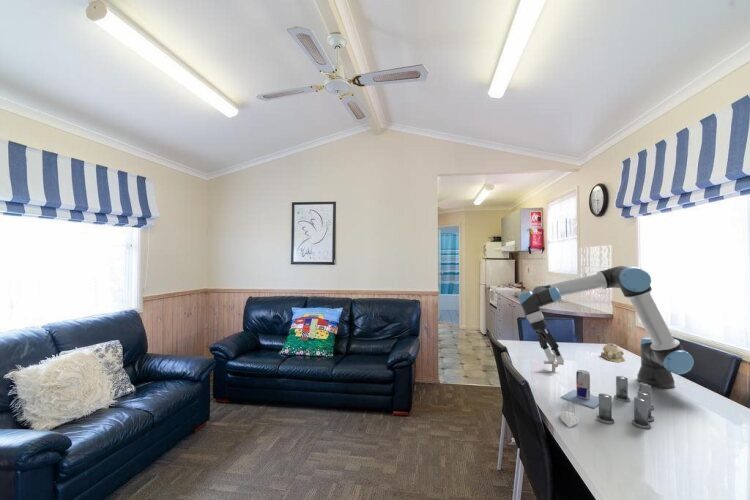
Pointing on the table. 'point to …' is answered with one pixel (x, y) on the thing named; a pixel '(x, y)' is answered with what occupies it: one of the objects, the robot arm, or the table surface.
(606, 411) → the spacer posts
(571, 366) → the table surface
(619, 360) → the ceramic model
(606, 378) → the table surface
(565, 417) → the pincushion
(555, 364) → the pipe connector
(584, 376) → the energy drink
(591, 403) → the mat
